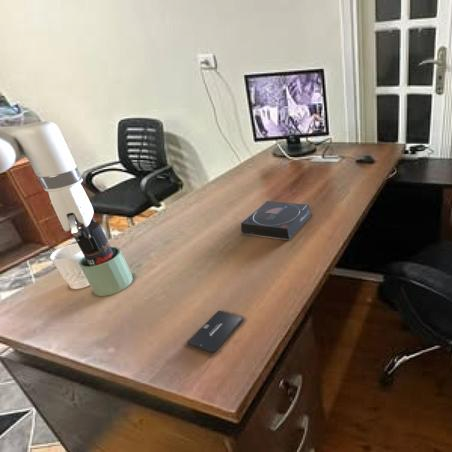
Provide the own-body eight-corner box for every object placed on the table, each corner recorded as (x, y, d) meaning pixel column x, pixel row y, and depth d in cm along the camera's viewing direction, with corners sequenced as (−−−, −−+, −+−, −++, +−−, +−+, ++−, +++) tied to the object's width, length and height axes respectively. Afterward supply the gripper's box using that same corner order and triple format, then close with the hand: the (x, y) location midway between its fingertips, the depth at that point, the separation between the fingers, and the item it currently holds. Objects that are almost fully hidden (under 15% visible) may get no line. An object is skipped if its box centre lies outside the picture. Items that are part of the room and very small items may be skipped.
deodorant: (93, 285, 90) (66, 235, 82) (103, 272, 95) (78, 224, 88) (117, 281, 90) (93, 231, 83) (126, 268, 95) (103, 220, 88)
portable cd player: (267, 210, 125) (265, 200, 123) (311, 215, 119) (309, 204, 117) (241, 234, 112) (239, 223, 110) (289, 240, 106) (287, 228, 104)
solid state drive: (187, 344, 72) (186, 342, 72) (219, 312, 80) (218, 310, 80) (213, 354, 70) (212, 351, 69) (243, 319, 77) (243, 317, 77)
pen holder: (91, 300, 88) (75, 271, 84) (96, 280, 96) (82, 253, 92) (131, 288, 91) (118, 260, 87) (134, 269, 99) (122, 243, 95)
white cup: (76, 294, 91) (58, 263, 86) (62, 286, 95) (44, 255, 90) (106, 277, 97) (90, 247, 92) (91, 270, 101) (76, 240, 96)
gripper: (51, 171, 85) (83, 234, 94) (29, 196, 71) (70, 268, 80) (86, 164, 87) (114, 227, 96) (72, 187, 73) (107, 258, 82)
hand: (94, 245), depth 88 cm, fingers closed on deodorant, 6 cm apart
